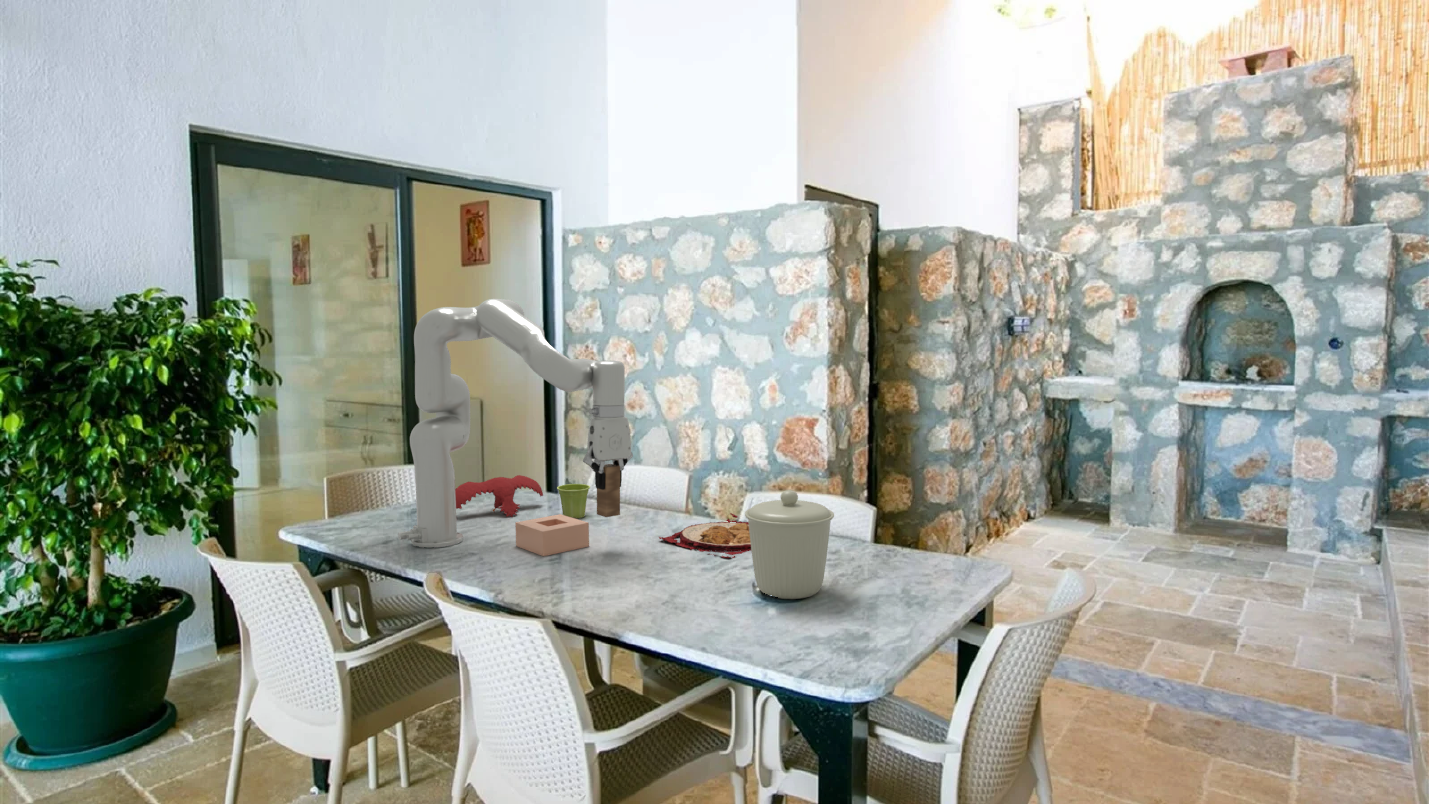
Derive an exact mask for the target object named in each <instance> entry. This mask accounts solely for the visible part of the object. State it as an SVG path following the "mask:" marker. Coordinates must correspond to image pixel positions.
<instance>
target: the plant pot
mask: <svg viewBox="0 0 1429 804" xmlns="http://www.w3.org/2000/svg"><path fill="white" fill-rule="evenodd" d="M556 489H557V490H558V494H559V497H560V503H561V509H562V515H565V516H568V517H571V518H575V519H581V518H584V517H585V515H586V509H587V502H588V501H587V500H588V494H589V491H590V489H591V486H590V485H588V484H583V483H569V484H568V483H567V484H561V485H558V486H557V487H556Z"/></svg>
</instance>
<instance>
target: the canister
mask: <svg viewBox="0 0 1429 804" xmlns="http://www.w3.org/2000/svg"><path fill="white" fill-rule="evenodd" d="M798 499H799V495H798V493H797V492H796V491H794V490H791V489H788V490H787V489H786V490H783V491H782V492H781V494H780V499H779V500H778V499H776V500H768V501H767V500H766V501H762V502H759V503H757V504H754V505H753V506H752V507H751V508H748V509H747V510H745V511H744V517H745V518H746V519H747V520H748V521H747V522H748V523H749V533H750V541H751V551H750V552H751V558H752V567H753V571H754V579H755V583H756V586H757V587H758V589H759V590H760V591H761V593H763V594H764V593H765V595H766V594H768V595H772V596H775V597H778V598H777V599H782V600H796V599H797V600H798V599H806V598H809V597H812V596H815V595H816V594H817V593H818V592H819V591H820V590H821V588H822V585H823V583H824V578H825V572H826V566H827V565H826V564H827V556H828V548H829V539H830V531H831V530H830V529H831V520H833V519H834V517H835V513H834V512H833V511H832V510H830V509H828V508H827V507H826V506H825V505H822V504H820V503H817V502H813V501H807V500H798ZM768 595H767V596H768ZM775 597H774V598H775Z"/></svg>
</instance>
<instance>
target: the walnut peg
mask: <svg viewBox="0 0 1429 804" xmlns="http://www.w3.org/2000/svg"><path fill="white" fill-rule="evenodd" d="M603 473H605V489H604V490H602V489H598V488H596V515H598V516H602V517H604V518H611V517H616V516H620V515H621V487H620V466H618V465H614V464H613V463H608V464H607V463H605V464H604V471H603Z"/></svg>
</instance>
